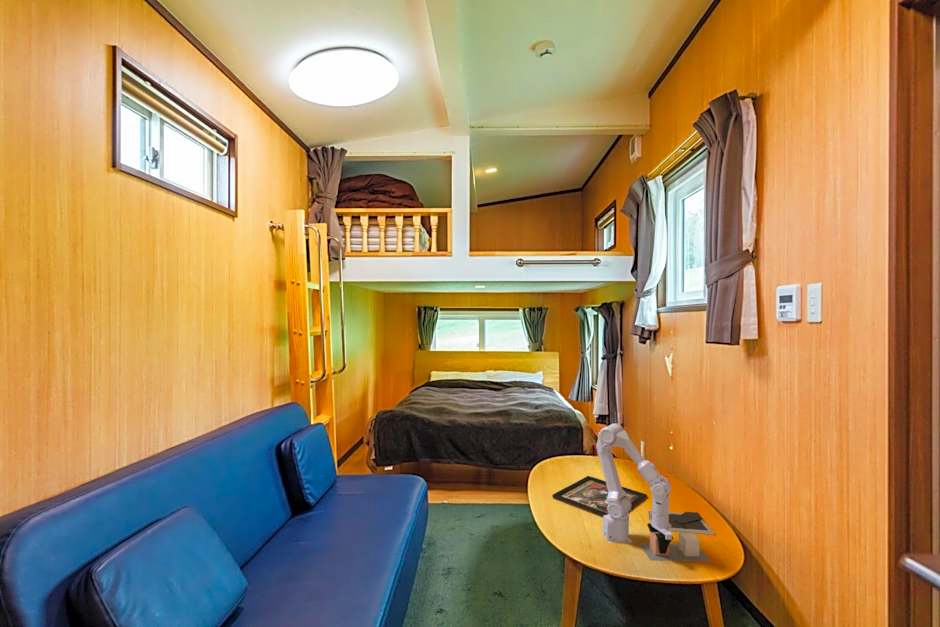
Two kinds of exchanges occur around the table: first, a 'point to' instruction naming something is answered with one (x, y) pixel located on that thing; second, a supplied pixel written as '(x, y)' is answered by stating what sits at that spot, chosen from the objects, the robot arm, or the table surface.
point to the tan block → (689, 544)
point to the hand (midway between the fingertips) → (659, 548)
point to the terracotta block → (656, 545)
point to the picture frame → (687, 523)
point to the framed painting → (593, 496)
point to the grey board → (673, 554)
